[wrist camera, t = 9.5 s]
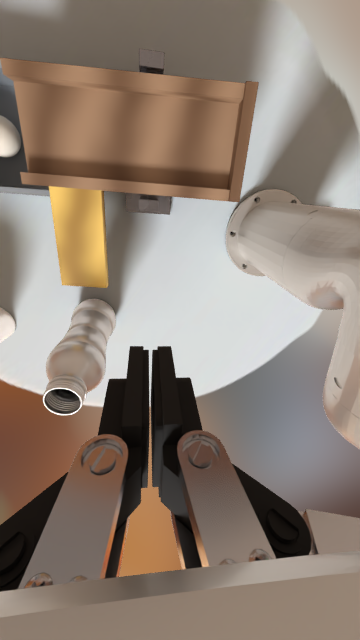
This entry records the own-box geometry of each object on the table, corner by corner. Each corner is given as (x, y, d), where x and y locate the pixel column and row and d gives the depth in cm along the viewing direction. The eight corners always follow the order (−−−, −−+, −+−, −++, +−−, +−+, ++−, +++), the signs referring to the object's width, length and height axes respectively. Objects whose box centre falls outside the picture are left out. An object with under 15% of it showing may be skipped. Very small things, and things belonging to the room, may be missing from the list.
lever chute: (240, 105, 27) (258, 82, 21) (216, 279, 35) (223, 297, 30) (36, 85, 26) (-4, 54, 20) (60, 269, 35) (37, 284, 29)
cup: (77, 89, 30) (38, 34, 19) (85, 196, 35) (58, 200, 24) (-30, 75, 28) (-136, 7, 18) (-5, 189, 33) (-76, 190, 23)
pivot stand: (175, 87, 31) (189, 39, 21) (169, 213, 37) (177, 223, 27) (124, 80, 30) (113, 27, 20) (126, 210, 36) (118, 219, 26)
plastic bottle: (96, 286, 41) (57, 362, 23) (126, 315, 43) (112, 403, 26) (67, 310, 42) (9, 399, 24) (98, 337, 45) (66, 435, 27)
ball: (-32, 111, 28) (9, 120, 30) (-22, 154, 29) (16, 159, 32) (-22, 106, 25) (22, 116, 28) (-11, 154, 27) (29, 159, 30)
